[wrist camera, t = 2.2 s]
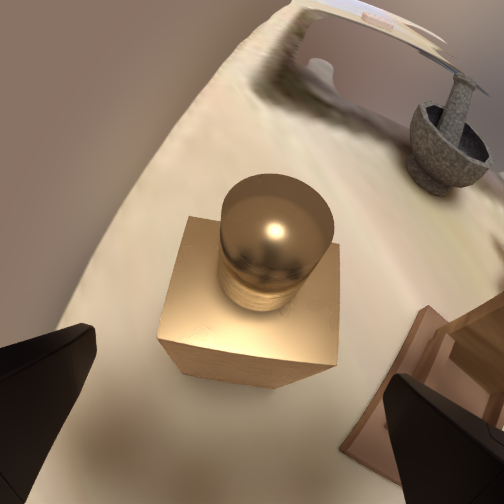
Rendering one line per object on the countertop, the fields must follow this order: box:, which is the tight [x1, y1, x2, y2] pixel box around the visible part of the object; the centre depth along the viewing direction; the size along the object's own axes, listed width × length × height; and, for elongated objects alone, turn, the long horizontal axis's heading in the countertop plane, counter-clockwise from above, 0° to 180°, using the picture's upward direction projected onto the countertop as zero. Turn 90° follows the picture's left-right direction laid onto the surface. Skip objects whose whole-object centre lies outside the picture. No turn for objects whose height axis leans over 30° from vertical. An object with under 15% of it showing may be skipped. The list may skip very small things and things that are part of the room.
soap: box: [361, 12, 394, 31], centre depth 64 cm, size 9×6×3 cm, turn 86°
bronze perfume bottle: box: [156, 174, 340, 389], centre depth 12 cm, size 4×6×12 cm
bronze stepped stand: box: [339, 291, 504, 487], centre depth 12 cm, size 12×12×10 cm
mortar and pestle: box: [406, 73, 494, 197], centre depth 24 cm, size 11×9×12 cm
